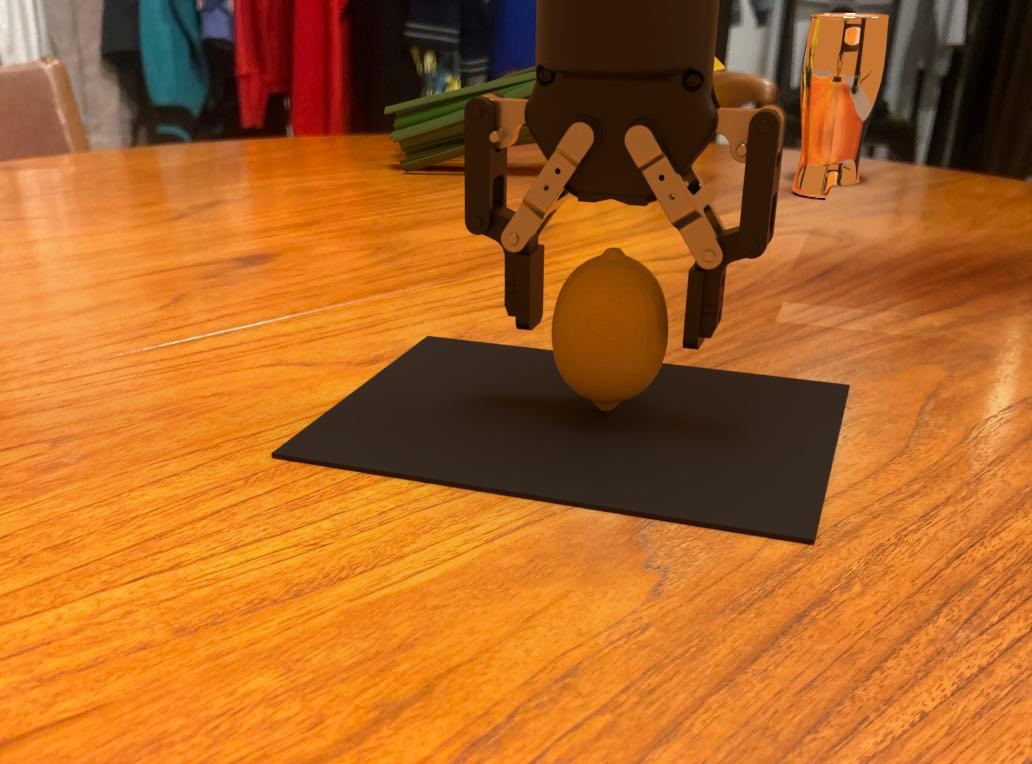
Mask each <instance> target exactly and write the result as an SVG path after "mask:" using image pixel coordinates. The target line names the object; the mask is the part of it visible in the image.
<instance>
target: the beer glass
mask: <svg viewBox="0 0 1032 764" xmlns="http://www.w3.org/2000/svg"><path fill="white" fill-rule="evenodd" d="M889 18H890V15H889V14H885V13H870V12H869V13H867V12H819V13H818V12H817V13H812V14H810V20H809V24H808V30H807V35H806V38H805V39H806V40H805V45H804V49H803V56H802V62H801V71H800V82H799V83H800V84H799V85H800V87H799V88H800V89H799V91H800V94H799V99H800V103H799V105H800V127H801V144H800V145H801V146H800V154H799V160H798V164H797V169H796V172H795V174H794V179H793V181H792V185H791V192H792V191H794V192H796V193H800V194H803V195H807V196H814V197H826V198H827V197H828V195H829V193H830V191H831V189H832V187H833V186H848V185H849V186H850V185H856V184H858V183H860V160H861V153H862V148H863V143H864V140H865V137H866V133H867V131H868V128H869V124H870V121H871V118H872V116H873V112H874V109H875V106H876V102H877V99H878V96H879V91H880V88H881V85H882V79H883V73H884V68H885V61H886V53H887V42H888V28H889V27H888V26H889V20H890V19H889Z"/></svg>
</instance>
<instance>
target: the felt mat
mask: <svg viewBox="0 0 1032 764" xmlns="http://www.w3.org/2000/svg"><path fill="white" fill-rule="evenodd" d="M850 386H851V384H849V383H848V384H847V383H839V382H829V381H823V380H822V381H821V380H812V379H805V378H796V377H795V378H794V377H787V376H780V375H779V376H778V375H770V374H762V373H752V372H744V371H736V370H727V369H717V368H710V367H709V368H708V367H700V366H692V365H683V364H675V363H667V362H663V363H662V366H661V368H660V370H659V372H658V374H657V375H656V377H655V378H654V380H653V381H652V382H651V383H650V384H649V386H648V387H647V388H646V389H645V390H643V391H642V392H641V393H639V394H638V395H636V396H634V397H632V398H630V399H627V400H624V401H621V402H620V403H619V404H618V405H617V406H616V407H615V408H614V409H612V410H611V411H602V410H600V409H599V408H598V407H597V406H596V405H595V404H594V403H593V401H592V400H590V399H587V398H584V397H582V396H581V395H579V394H578V393H576V392H575V391H573V390H572V389H571V388H570V387H569V385H568V384H567V383H566V382H565V381H564V379H563V378H562V376H561V374H560V373H559V371H558V368H557V366H556V363H555V359H554V353H553V349H546V348H537V347H528V346H520V345H511V344H502V343H495V342H494V343H493V342H485V341H478V340H477V341H476V340H468V339H461V338H459V339H458V338H452V337H451V338H450V337H442V336H434V335H426V336H425V337H424V338H423V339H421V340H420V341H418V342H417V343H416V344H414V345H413V346H412V347H410V348H409V349H408V350H406V351H405V352H404V353H402V354H401V355H400V356H399V357H397V358H395V359H394V360H393V361H392V362H391V363H389V364H388V365H386V366H385V367H384V368H383V369H381V370H380V371H378V372H377V373H376V374H374V375H373V376H372V377H370V378H369V379H368V380H366V381H365V382H363V384H361V385H360V386H359V387H357V388H356V389H355V390H353V391H352V392H350V393H349V394H348V395H347V396H345V397H344V398H342V399H341V400H340V401H338V402H337V403H336V404H334V406H332V407H331V408H329V409H328V410H327V411H325V412H324V413H322V414H321V415H320V416H318V417H317V418H316V419H315V420H313V421H312V422H311V423H309V424H308V425H307V426H305V427H304V428H303V429H301V430H300V431H298V433H295V435H293V436H292V437H290V439H288V440H287V441H285V442H284V443H283V444H281V445H280V446H279V447H277V448H276V449H275V450H273V451H272V452H271V458H276V459H281V460H282V459H283V460H289V461H295V462H302V463H307V464H313V465H320V466H326V467H332V468H339V469H346V470H351V471H357V472H363V473H370V474H374V475H375V474H376V475H381V476H388V477H395V478H399V479H400V478H402V479H406V480H413V481H419V482H426V483H431V484H437V485H438V484H439V485H444V486H451V487H457V488H464V489H469V490H476V491H480V492H481V491H482V492H487V493H494V494H499V495H507V496H513V497H519V498H526V499H530V500H538V501H545V502H551V503H556V504H563V505H569V506H576V507H581V508H587V509H593V510H600V511H606V512H612V513H619V514H625V515H632V516H637V517H645V518H650V519H655V520H656V519H657V520H662V521H668V522H676V523H679V524H680V523H681V524H686V525H694V526H701V527H705V528H711V529H712V528H713V529H718V530H724V531H731V532H736V533H737V532H738V533H743V534H750V535H755V536H761V537H766V538H767V537H768V538H774V539H780V540H787V541H793V542H799V543H804V544H805V543H806V544H812V545H814V544H815V542H816V538H817V533H818V529H819V525H820V519H821V516H822V511H823V506H824V502H825V498H826V493H827V490H828V489H827V488H828V484H829V480H830V477H831V476H830V475H831V471H832V467H833V463H834V459H835V453H836V449H837V444H838V441H839V437H840V431H841V426H842V422H843V418H844V414H845V408H846V404H847V402H848V401H847V400H848V397H849V396H848V395H849V391H850Z"/></svg>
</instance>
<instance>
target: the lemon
mask: <svg viewBox="0 0 1032 764" xmlns="http://www.w3.org/2000/svg"><path fill="white" fill-rule="evenodd" d="M668 340H669V315H668V306H667V301H666V297H665V292H664V291H663V287H662V285H661V283H660V281H659V280H658V279H657V277H656V276H655V275H654V273H653V272H652V271H651V270H650V269H649V268H648V267H647V266H646V265H645V264H644V263H642V262H641V261H639V260H637V259H636V258H633V257H631V256H628V255H626V253H625V252H624V251H623V250H622V248H619V247H608V248H606V249H605V250H604V251H603V253H601V254H599V255H597V256H594V257H592V258H589V259H588V260H586V261H584V262H583V263H581V264H579V266H576V268H575V269H574V270H572V272H571V273H570V274H569V275H568V277H567V278H566V279H565V281H564V282H563V284H562V287H561V288H560V290H559V293H558V296H557V298H556V301H555V305H554V309H553V316H552V322H551V345H552V350H553V353H554V359H555V363H556V366H557V368H558V371H559V373H560V374H561V376H562V378H563V379H564V381H565V382H566V383H567V384H568V385H569V387H570V388H571V389H572V390H573V391H575V392H576V393H578V394H579V395H581V396H582V397H584V398H587V399H590V400H592V401H593V403H594V404H595V405H596V406H597V407H598V408H599V409H600V410H602V411H611V410H612V409H614V408H615V407H616V406H617V405H618V404H619V403H620V402H621V401H624V400H627V399H630V398H632V397H634V396H636V395H638V394H639V393H641V392H642V391H643V390H645V389H646V388H647V387H648V386H649V384H650V383H651V382H652V381H653V380H654V378H655V377H656V375H657V374H658V372H659V370H660V368H661V366H662V363H664V360H665V357H666V353H667V349H668V342H669V341H668Z"/></svg>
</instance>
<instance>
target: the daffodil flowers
mask: <svg viewBox="0 0 1032 764" xmlns="http://www.w3.org/2000/svg"><path fill="white" fill-rule="evenodd" d="M724 69H726V67H725V66H724V64H723V63H722V62H721V61H720V60H719V59H718V58H717V57H716V56H715V60H714V71H713V72H716V71H722V70H724ZM535 80H536V65H534V66H531V67H528V68H526V69H523V70H522V69H521V70H519V71H517V72H514V73H511V74H508V75H505V76H502V77H499V78H496V79H494V80H490V81H487V82H483V83H479V84H475V85H470V86H465V87H462V88H456V89H452V90H448V91H443V92H439V93H434V94H430V95H427V96H423V97H420V98H416V99H412V100H408V101H404V102H399V103H396V104H391V105H389V106H385V108H384V116H385V115H391V114H395V115H396V117H394V123H393V124H392V127H393V130H394V131H392V133H390V134H389V139H390V140H392V143H393V144H395V143H398V144H399V147H400V149H401V150H402V152H403V153H404V155H405V158H403V159H399V163H400V165H401V167H402V169H403V170H404V172H405V173H406V172H407V173H409V172H413V171H416V170H420V169H423V168H427V167H432V166H434V165H437V164H441V163H444V162H447V161H451V160H454V159H457V158H461V157H463V156H464V109H465V106H466V104H467V102H468V101H469V100H471V99H473V98H476V97H479V96H482V95H485V94H488V93H491V92H499V93H501V94H503V95H504V97H505V98H514V99H529V97H530V95H531V93H532V91H533V88H534V85H535ZM531 144H537V143H536V142H535V140H534V139H533V137H532V135H531V134H530V132H529V130H528V129H527V126H526V124H523V125H522V126H521V128H520V130H519V135H518V139H517V140H516V142H515V143H514V144H512V145H510V146H508V147H507V148H510V147H518V146H525V145H531Z"/></svg>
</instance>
